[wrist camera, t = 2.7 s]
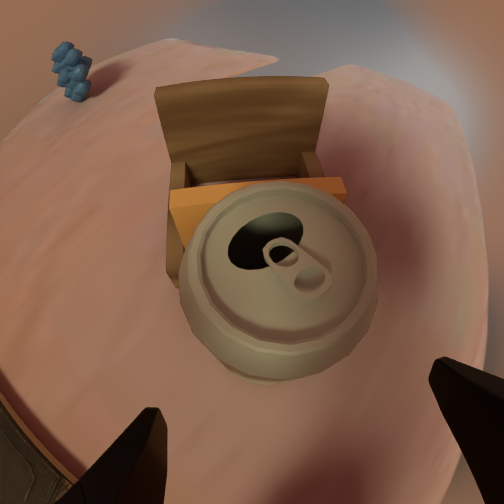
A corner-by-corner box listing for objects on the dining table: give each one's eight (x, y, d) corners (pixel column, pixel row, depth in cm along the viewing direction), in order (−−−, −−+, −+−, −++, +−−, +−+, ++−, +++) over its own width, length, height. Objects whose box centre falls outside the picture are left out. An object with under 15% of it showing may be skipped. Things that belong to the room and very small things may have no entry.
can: (275, 264, 22) (298, 140, 11) (339, 341, 19) (434, 273, 8) (192, 319, 20) (129, 228, 9) (253, 406, 17) (261, 431, 6)
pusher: (317, 259, 22) (347, 193, 15) (194, 272, 21) (169, 207, 14) (314, 245, 22) (340, 176, 15) (194, 257, 22) (170, 190, 14)
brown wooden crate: (337, 270, 22) (388, 186, 13) (176, 287, 21) (128, 207, 12) (306, 166, 27) (324, 77, 18) (178, 176, 26) (156, 87, 17)
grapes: (118, 92, 35) (100, 28, 24) (83, 116, 32) (58, 50, 22) (87, 83, 38) (70, 31, 28) (58, 103, 36) (37, 51, 25)
